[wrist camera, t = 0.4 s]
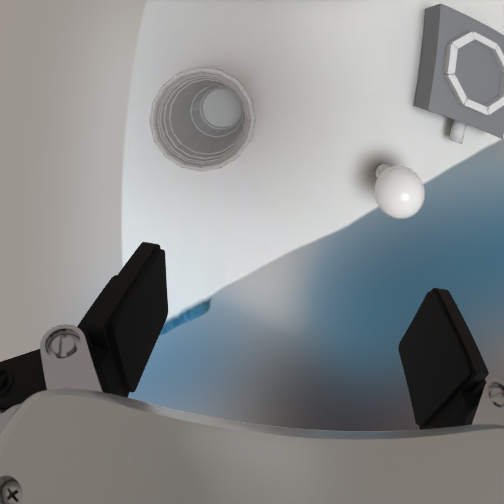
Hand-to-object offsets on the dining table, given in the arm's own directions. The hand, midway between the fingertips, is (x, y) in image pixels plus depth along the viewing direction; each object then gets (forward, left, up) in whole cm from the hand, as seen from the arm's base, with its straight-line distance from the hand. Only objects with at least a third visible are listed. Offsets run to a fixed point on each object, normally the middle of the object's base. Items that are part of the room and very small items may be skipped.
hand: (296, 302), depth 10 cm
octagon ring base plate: (-12, +23, -34) cm, 43 cm away
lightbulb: (+4, +14, -34) cm, 37 cm away
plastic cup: (-2, -9, -34) cm, 36 cm away
